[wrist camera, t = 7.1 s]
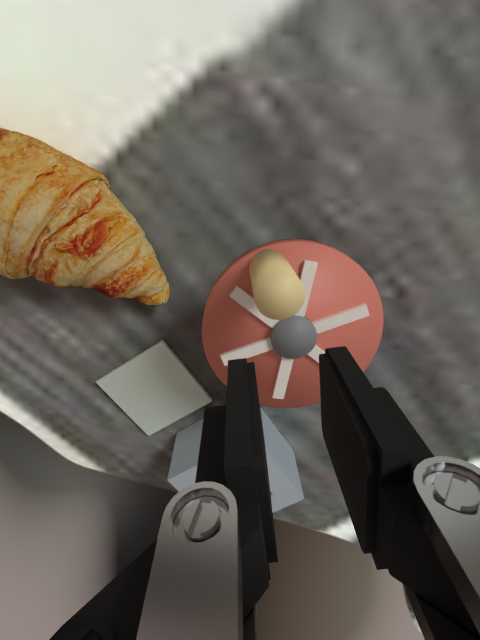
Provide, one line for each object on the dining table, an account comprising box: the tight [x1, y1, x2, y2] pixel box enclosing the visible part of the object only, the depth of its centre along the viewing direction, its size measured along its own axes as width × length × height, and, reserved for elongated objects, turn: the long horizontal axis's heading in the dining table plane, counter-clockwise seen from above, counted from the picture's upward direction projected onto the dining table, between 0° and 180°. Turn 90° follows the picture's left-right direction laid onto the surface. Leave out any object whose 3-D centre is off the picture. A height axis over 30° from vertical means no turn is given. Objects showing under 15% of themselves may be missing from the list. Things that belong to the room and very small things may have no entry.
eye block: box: [167, 407, 304, 513], centre depth 33 cm, size 9×9×6 cm
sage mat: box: [96, 340, 212, 436], centre depth 33 cm, size 8×8×1 cm
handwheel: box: [202, 239, 383, 408], centre depth 21 cm, size 12×12×6 cm
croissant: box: [0, 128, 170, 305], centre depth 24 cm, size 21×10×8 cm, turn 53°
